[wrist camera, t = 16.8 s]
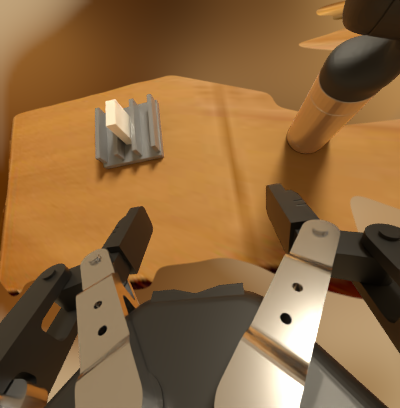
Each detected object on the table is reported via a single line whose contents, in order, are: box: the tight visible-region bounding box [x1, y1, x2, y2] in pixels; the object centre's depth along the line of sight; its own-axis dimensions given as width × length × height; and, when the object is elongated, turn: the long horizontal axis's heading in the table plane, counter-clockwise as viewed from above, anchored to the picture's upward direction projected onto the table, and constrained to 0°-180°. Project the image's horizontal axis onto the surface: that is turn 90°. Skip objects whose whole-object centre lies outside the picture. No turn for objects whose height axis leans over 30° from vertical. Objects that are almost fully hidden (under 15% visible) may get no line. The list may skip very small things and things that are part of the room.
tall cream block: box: [106, 99, 132, 145], centre depth 48 cm, size 7×3×9 cm, turn 6°
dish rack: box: [95, 94, 164, 169], centre depth 52 cm, size 18×18×5 cm
